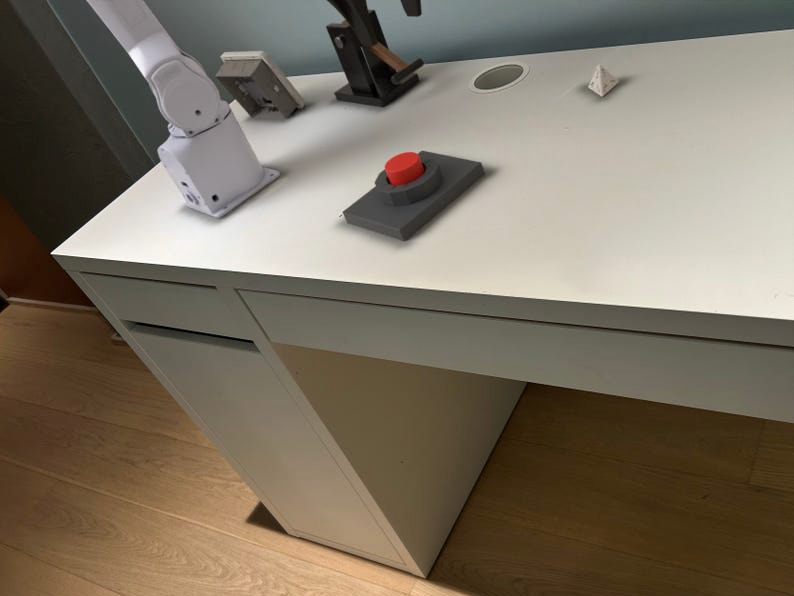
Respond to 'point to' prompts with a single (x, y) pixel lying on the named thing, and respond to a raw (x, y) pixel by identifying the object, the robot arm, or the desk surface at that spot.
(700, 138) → the desk surface
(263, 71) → the electrical switch
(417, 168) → the button
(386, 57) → the lever
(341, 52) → the bracket
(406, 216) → the button box
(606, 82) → the tetrahedral die
